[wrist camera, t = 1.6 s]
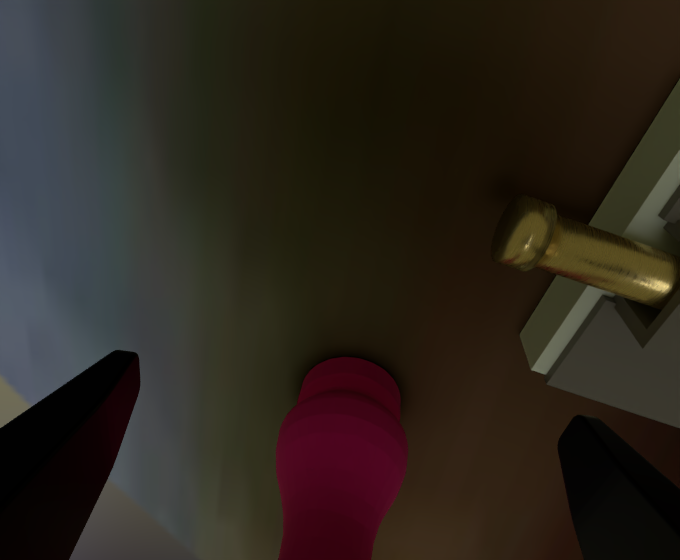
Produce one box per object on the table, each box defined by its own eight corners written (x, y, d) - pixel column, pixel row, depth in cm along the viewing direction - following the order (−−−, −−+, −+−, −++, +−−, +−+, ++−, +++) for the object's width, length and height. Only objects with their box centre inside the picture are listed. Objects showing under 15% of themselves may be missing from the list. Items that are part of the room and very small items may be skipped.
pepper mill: (322, 330, 28) (179, 841, 11) (430, 380, 29) (458, 933, 12) (278, 408, 32) (116, 886, 14) (375, 450, 32) (333, 954, 15)
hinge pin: (839, 294, 20) (898, 333, 17) (787, 345, 21) (836, 388, 19) (517, 184, 19) (532, 209, 17) (487, 243, 21) (497, 274, 18)
